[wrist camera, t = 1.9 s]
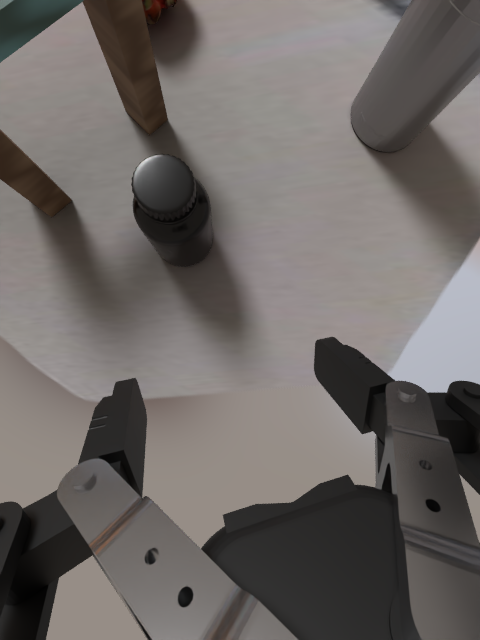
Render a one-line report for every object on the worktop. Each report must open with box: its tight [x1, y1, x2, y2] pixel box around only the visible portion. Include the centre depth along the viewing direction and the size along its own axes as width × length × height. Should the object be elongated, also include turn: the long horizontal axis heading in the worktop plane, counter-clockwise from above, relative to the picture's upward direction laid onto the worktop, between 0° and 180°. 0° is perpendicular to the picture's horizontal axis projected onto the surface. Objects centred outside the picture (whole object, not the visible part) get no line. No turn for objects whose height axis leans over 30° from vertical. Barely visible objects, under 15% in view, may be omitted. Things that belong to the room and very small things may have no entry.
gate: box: [0, 0, 168, 217], centre depth 25 cm, size 18×4×16 cm, turn 135°
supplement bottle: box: [131, 154, 213, 267], centre depth 27 cm, size 7×7×12 cm
